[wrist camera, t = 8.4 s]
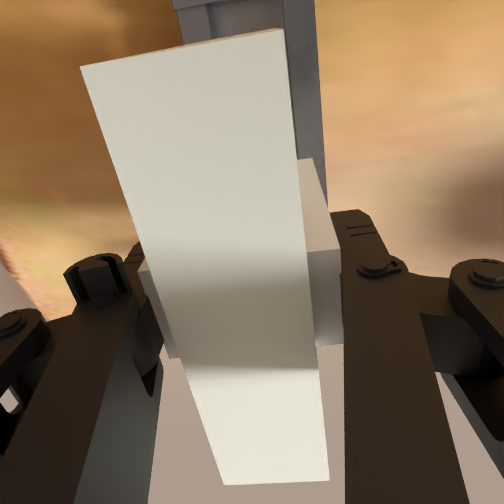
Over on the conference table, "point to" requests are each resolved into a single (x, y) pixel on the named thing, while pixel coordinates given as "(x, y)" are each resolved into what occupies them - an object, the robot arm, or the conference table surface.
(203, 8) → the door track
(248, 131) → the door panel
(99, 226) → the conference table surface
